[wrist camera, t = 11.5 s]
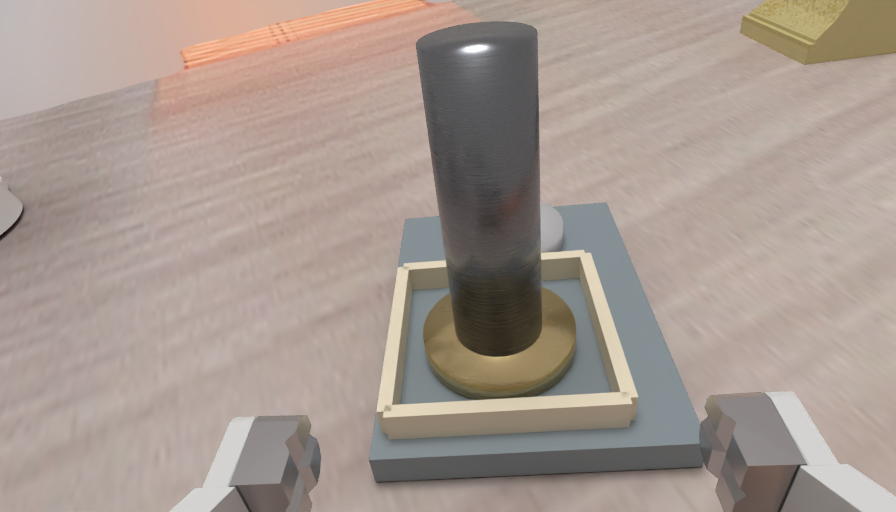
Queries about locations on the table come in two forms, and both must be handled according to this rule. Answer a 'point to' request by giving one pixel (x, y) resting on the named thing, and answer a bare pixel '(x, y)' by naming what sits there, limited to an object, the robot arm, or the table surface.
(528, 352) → the stamp
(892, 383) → the table surface
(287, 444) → the robot arm
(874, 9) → the thinker statue
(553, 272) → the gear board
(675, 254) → the table surface
